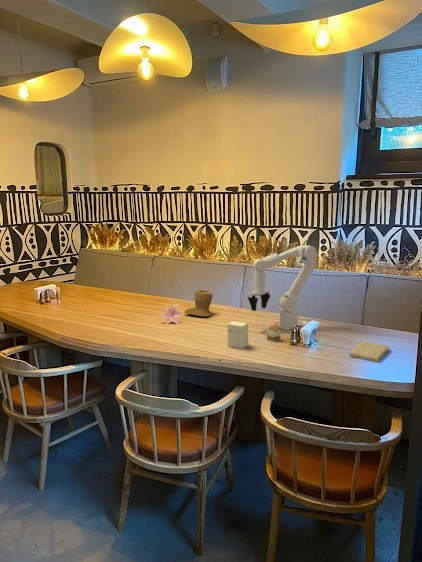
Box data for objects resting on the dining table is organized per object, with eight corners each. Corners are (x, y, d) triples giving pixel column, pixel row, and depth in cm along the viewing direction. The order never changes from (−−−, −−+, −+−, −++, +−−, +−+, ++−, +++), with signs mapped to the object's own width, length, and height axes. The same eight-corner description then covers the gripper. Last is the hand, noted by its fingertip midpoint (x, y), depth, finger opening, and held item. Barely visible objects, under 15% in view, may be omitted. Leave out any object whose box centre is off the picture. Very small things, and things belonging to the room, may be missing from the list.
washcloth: (389, 351, 179) (390, 344, 179) (378, 364, 165) (379, 356, 165) (361, 345, 186) (362, 339, 186) (348, 357, 172) (349, 350, 172)
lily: (156, 324, 226) (157, 312, 220) (167, 311, 235) (168, 299, 228) (176, 333, 223) (177, 320, 217) (186, 319, 231) (187, 307, 225)
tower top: (274, 333, 198) (274, 328, 197) (280, 335, 194) (280, 330, 193) (266, 334, 195) (266, 329, 195) (273, 337, 192) (273, 332, 191)
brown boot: (216, 314, 241) (216, 289, 238) (205, 319, 231) (204, 293, 228) (196, 311, 249) (195, 286, 246) (183, 315, 239) (183, 290, 237)
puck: (273, 328, 197) (273, 321, 196) (279, 330, 194) (279, 323, 193) (267, 330, 194) (267, 322, 194) (274, 332, 191) (274, 324, 191)
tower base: (272, 338, 198) (272, 333, 198) (280, 340, 195) (280, 335, 195) (267, 340, 195) (267, 335, 194) (275, 342, 192) (275, 337, 191)
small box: (248, 345, 188) (248, 323, 186) (243, 349, 183) (243, 326, 181) (233, 342, 192) (232, 320, 190) (227, 346, 187) (227, 323, 185)
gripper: (262, 280, 215) (262, 305, 218) (243, 283, 206) (243, 310, 208) (273, 282, 210) (272, 308, 212) (254, 285, 200) (253, 312, 203)
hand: (258, 309), depth 210 cm, fingers open, 7 cm apart
